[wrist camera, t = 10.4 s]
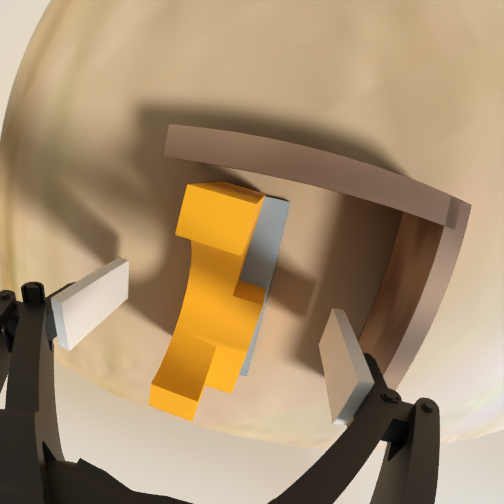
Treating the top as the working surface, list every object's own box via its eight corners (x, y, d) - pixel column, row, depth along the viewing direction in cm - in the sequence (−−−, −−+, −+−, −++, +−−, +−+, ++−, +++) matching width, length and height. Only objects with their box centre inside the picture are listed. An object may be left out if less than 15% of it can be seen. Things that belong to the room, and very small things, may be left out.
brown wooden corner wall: (200, 138, 15) (169, 124, 11) (426, 195, 15) (471, 205, 10) (172, 349, 20) (147, 391, 15) (354, 385, 19) (367, 430, 14)
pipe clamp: (238, 364, 19) (222, 430, 13) (182, 345, 19) (149, 404, 13) (294, 203, 16) (304, 220, 9) (223, 181, 16) (187, 184, 9)
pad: (207, 184, 16) (206, 184, 16) (289, 201, 16) (289, 202, 16) (183, 357, 20) (182, 359, 19) (246, 373, 19) (246, 376, 19)
